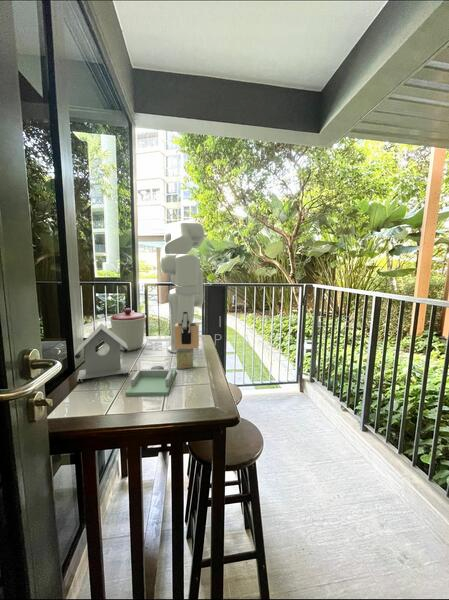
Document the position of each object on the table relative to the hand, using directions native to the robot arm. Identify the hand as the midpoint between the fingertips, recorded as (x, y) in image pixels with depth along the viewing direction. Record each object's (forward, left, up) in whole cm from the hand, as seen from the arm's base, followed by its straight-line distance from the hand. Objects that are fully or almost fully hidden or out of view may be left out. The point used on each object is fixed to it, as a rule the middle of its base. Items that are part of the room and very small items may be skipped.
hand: (187, 340), depth 96 cm
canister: (-45, -35, -17) cm, 59 cm away
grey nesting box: (-10, -34, -17) cm, 39 cm away
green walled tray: (-3, -13, -17) cm, 21 cm away
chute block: (0, 0, -2) cm, 2 cm away
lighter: (-18, -3, -17) cm, 25 cm away
